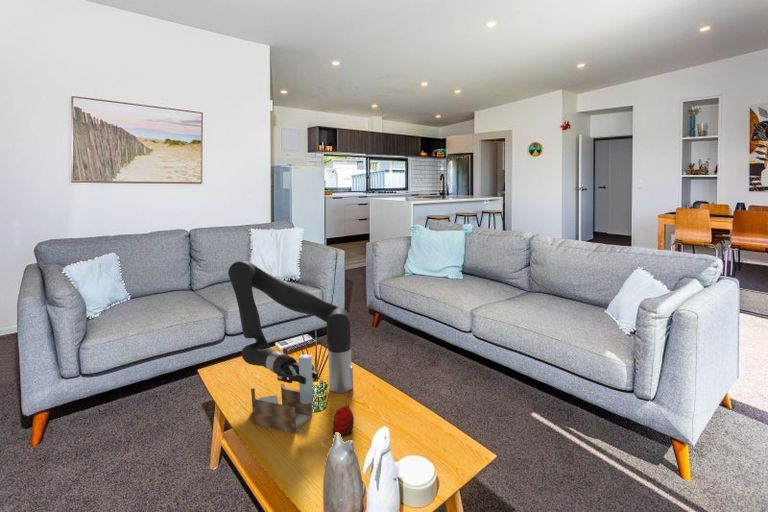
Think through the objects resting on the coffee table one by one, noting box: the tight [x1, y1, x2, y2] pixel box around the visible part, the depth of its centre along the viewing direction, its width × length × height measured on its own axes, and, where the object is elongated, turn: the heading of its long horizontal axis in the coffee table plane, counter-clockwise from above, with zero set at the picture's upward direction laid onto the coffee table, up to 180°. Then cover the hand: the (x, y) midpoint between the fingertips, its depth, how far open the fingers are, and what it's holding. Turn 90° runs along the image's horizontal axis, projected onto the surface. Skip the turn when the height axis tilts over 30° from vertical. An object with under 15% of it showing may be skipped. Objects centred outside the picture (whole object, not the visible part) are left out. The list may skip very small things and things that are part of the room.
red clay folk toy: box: [332, 392, 355, 436], centre depth 141 cm, size 8×7×15 cm
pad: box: [258, 394, 279, 404], centre depth 162 cm, size 7×7×1 cm
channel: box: [250, 383, 313, 435], centre depth 149 cm, size 20×20×9 cm
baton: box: [298, 354, 314, 404], centre depth 143 cm, size 4×4×16 cm
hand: (310, 378), depth 141 cm, fingers closed on baton, 4 cm apart
